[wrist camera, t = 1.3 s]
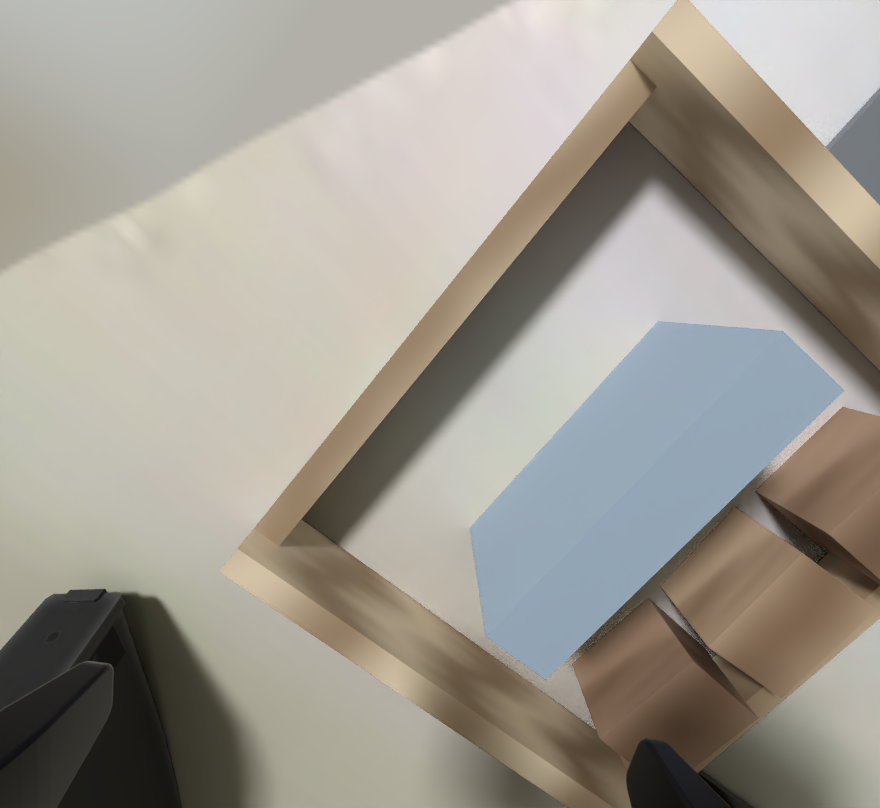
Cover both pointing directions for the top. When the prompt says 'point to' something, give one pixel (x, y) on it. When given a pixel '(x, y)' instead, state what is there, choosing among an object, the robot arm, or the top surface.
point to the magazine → (133, 710)
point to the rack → (626, 99)
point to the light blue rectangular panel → (636, 480)
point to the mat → (861, 147)
